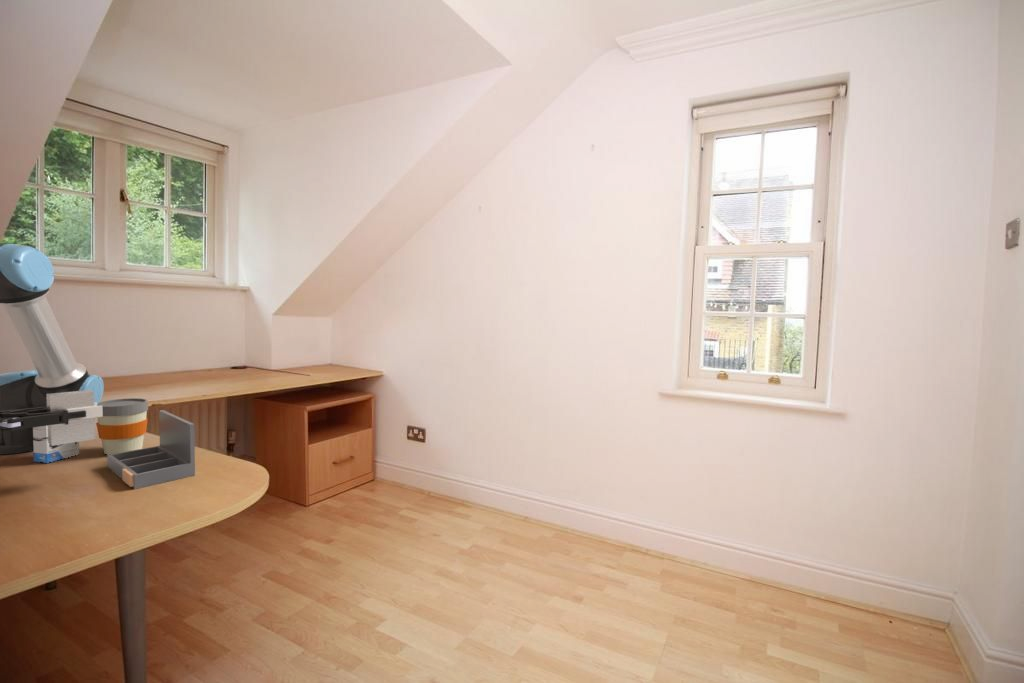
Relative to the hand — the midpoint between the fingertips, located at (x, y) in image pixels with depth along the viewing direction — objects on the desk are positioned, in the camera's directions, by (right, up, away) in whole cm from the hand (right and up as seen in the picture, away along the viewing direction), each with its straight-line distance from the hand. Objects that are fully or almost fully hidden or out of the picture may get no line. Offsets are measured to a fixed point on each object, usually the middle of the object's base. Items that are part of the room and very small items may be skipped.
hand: (99, 409), depth 122 cm
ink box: (-24, -16, +14) cm, 33 cm away
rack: (+7, -18, +7) cm, 20 cm away
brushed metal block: (-4, -7, -4) cm, 9 cm away
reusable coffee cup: (-12, -16, +23) cm, 30 cm away
